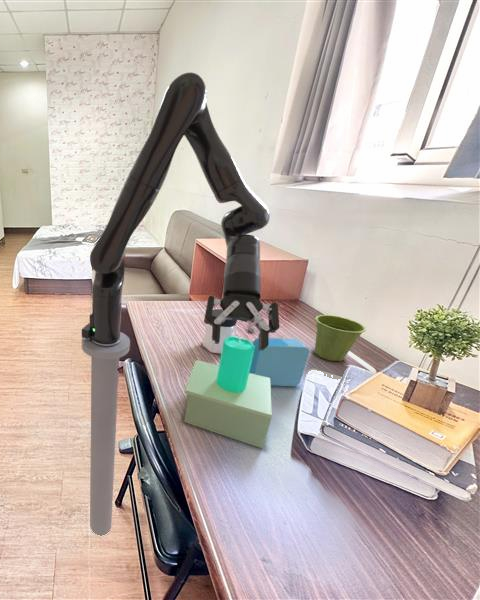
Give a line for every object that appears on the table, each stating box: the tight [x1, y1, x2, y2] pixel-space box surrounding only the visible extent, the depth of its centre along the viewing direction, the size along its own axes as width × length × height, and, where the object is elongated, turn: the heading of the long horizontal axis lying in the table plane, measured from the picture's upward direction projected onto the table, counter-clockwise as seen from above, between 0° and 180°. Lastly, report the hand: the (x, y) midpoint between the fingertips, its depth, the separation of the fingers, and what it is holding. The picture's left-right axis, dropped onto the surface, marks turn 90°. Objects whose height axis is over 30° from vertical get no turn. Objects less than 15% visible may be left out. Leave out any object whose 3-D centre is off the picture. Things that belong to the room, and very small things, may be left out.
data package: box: [249, 337, 310, 387], centre depth 82 cm, size 12×4×12 cm, turn 86°
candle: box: [217, 336, 255, 393], centre depth 67 cm, size 6×6×12 cm
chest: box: [183, 394, 272, 449], centre depth 71 cm, size 16×14×8 cm
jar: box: [202, 308, 238, 355], centre depth 98 cm, size 9×8×12 cm
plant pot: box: [314, 314, 367, 362], centre depth 94 cm, size 12×12×11 cm
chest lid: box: [184, 359, 273, 419], centre depth 69 cm, size 16×14×1 cm
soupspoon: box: [248, 310, 262, 333], centre depth 119 cm, size 22×3×7 cm
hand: (239, 346), depth 65 cm, fingers open, 8 cm apart
